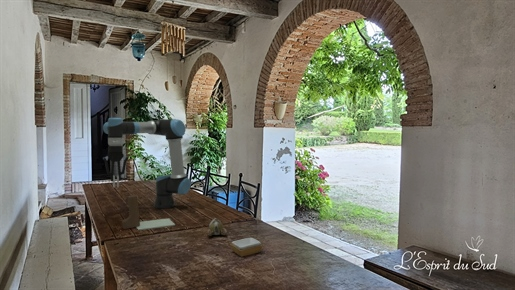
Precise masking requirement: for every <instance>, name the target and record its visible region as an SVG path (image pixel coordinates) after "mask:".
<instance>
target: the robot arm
mask: <svg viewBox="0 0 515 290" xmlns="http://www.w3.org/2000/svg"><path fill="white" fill-rule="evenodd" d="M102 130H103V132H104V133H105V134H107V144H108V146H107V147H108V148H107V151H108V152H107V155H106V156H105V157H102V160H103V161H104V165H105V169H106V174H107V175H108V176H110V181H111V182H112V188H116V187H117V188H119V187H120V182H121V181H122V175H124V174H125V173H126V172H125V170H126V166H127V161H128V159H129V157H128V156H125V155H124V146H123V144H124V142H123V141H124V140H123V138H124V137H123V135H132V136H133V135H137V134H147V135H156V136H163V137H165V140H166V141H167V143H168V150H169V159H170V160H169V161H170V168H171V174H165V175H158V176H157V177H156V179H155V198H154V203H153V208H155V209H171V208H174V207H175V206H176V203H175V199H174V196H173V194H176V195H186V194H187V193H189V191H190V189H191V186H192V181H191V180H190V178H188V177H187V173H185V169H184V168H185V167H184V159H183V158H184V157H183V148H182V139H183V136H185V134H186V126H185V123H184V121H182V120H181V119H176V118H171V119H170V118H169V119H167V118H166V119H165V118H164V119H156V120H148V121H144V122H143V121H123V117H122V118H121V117H109V118H108V119H107V122H105V123H103V126H102ZM122 159H123V162H122V168H121V161H122ZM108 160H110V161H111V163H110V164H111V166H109V163H108ZM115 163H117V175H116V176H115V175H114V172H115ZM109 167H110V168H109ZM121 169H122V170H121Z"/></svg>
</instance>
